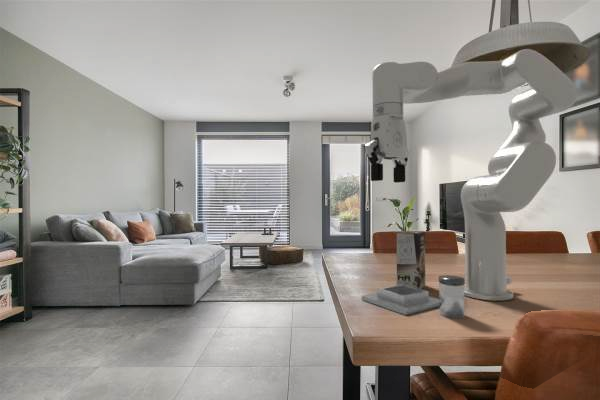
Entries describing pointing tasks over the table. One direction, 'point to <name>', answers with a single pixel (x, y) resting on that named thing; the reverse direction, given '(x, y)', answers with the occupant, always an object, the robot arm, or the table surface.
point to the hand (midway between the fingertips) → (388, 181)
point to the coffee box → (411, 259)
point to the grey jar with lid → (451, 296)
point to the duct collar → (402, 299)
